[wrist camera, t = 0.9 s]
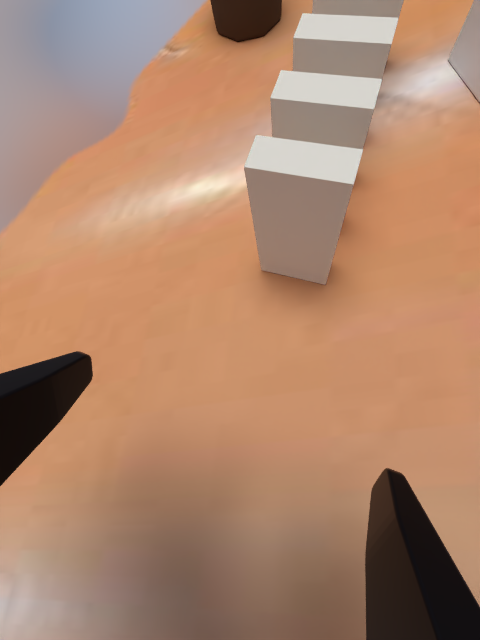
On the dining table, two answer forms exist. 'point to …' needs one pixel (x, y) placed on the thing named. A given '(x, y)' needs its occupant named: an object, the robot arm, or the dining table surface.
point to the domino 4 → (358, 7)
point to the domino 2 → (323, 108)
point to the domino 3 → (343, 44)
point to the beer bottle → (245, 17)
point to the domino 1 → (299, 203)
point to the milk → (469, 51)
